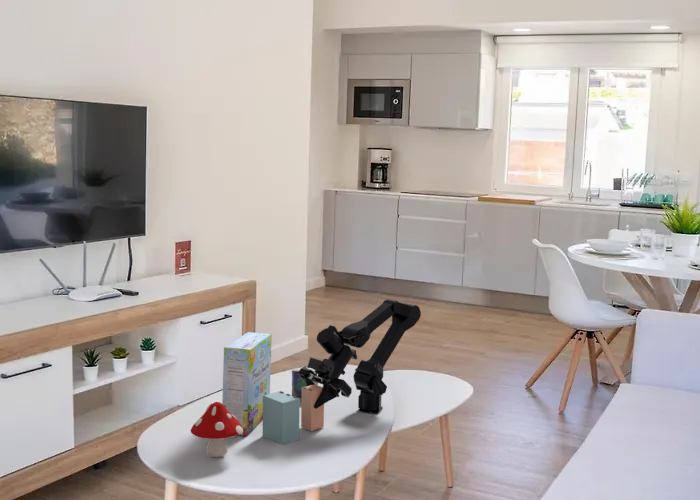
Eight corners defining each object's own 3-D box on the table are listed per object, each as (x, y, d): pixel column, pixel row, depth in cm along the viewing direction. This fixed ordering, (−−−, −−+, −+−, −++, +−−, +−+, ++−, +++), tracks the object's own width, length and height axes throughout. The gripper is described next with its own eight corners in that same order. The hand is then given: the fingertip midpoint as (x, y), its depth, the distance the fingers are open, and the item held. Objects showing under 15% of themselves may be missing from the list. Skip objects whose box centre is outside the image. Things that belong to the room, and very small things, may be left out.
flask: (290, 396, 272) (290, 364, 270) (294, 394, 274) (295, 362, 273) (315, 400, 268) (315, 368, 266) (319, 398, 270) (319, 366, 269)
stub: (313, 423, 245) (314, 383, 243) (323, 427, 242) (324, 386, 240) (301, 427, 241) (301, 386, 240) (311, 431, 238) (311, 390, 237)
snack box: (249, 437, 233) (250, 349, 230) (220, 434, 235) (220, 347, 231) (271, 413, 254) (272, 332, 251) (245, 411, 256) (245, 330, 252)
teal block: (278, 431, 238) (279, 390, 237) (299, 439, 232) (299, 397, 231) (262, 435, 234) (262, 394, 233) (282, 444, 228) (283, 401, 226)
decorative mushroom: (185, 449, 223) (185, 396, 221) (234, 443, 228) (234, 391, 226) (197, 469, 210) (197, 412, 208) (249, 461, 215) (249, 406, 213)
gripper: (302, 341, 248) (274, 383, 242) (345, 353, 235) (316, 398, 228) (321, 362, 254) (294, 403, 248) (364, 374, 241) (336, 419, 235)
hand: (309, 405), depth 240 cm, fingers closed on stub, 4 cm apart
